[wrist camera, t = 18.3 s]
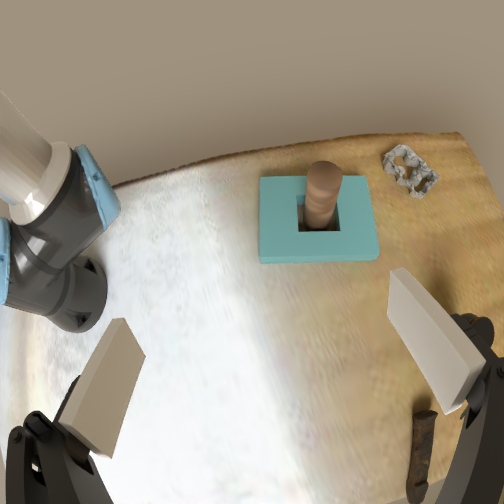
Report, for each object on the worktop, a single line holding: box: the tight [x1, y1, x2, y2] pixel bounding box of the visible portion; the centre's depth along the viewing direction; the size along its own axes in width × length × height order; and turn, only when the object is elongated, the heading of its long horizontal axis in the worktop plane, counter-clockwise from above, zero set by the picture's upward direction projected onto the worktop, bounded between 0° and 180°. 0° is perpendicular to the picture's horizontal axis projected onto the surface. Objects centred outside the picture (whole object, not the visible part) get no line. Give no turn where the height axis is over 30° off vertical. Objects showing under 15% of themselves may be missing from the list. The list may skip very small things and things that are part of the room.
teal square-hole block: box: [259, 175, 380, 264], centre depth 42 cm, size 18×14×3 cm
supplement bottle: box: [460, 313, 495, 347], centre depth 29 cm, size 7×7×12 cm
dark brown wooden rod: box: [406, 410, 438, 504], centre depth 26 cm, size 19×4×5 cm, turn 179°
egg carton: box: [382, 144, 440, 199], centre depth 43 cm, size 11×8×4 cm
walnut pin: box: [303, 161, 343, 232], centre depth 38 cm, size 4×4×13 cm
